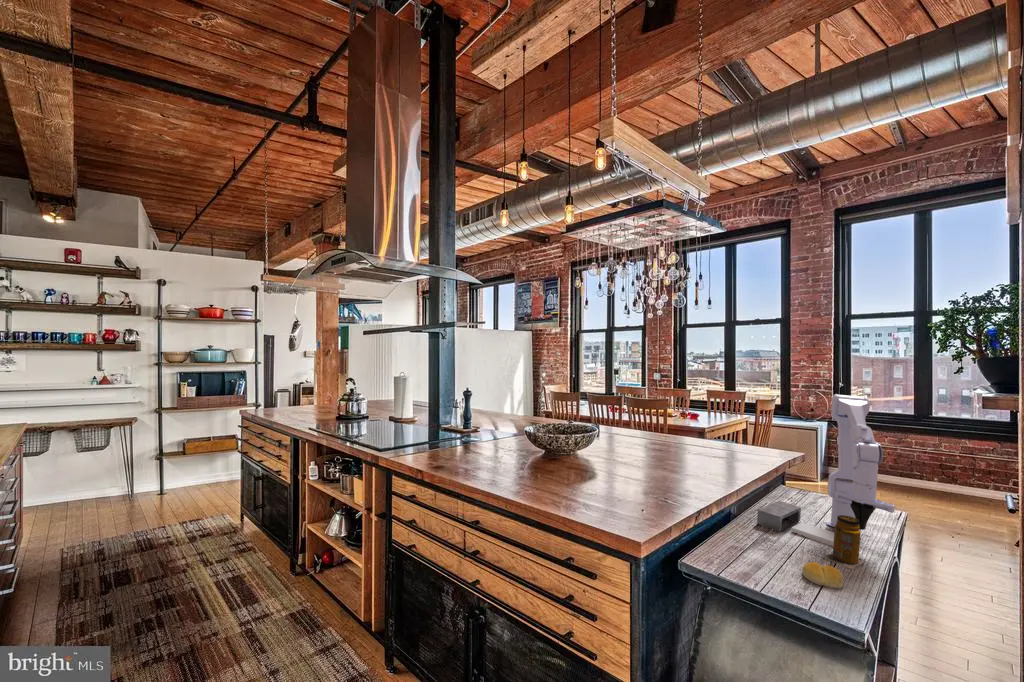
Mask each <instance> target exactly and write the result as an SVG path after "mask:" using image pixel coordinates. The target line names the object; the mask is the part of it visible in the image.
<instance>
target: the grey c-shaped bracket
mask: <svg viewBox="0 0 1024 682" xmlns="http://www.w3.org/2000/svg"><path fill="white" fill-rule="evenodd" d="M801 511H802V507H801V506H799V505H794V504H792V503H791V504H790V503H788V502H784V501H781V500H777V501H776V502H773V503H770V504H767V505H766V506H763V507H761V508H758V509H757V518H756V525H757V524H759V525H758V526H760V525H762V526H765V527H767V528H766V529H768V528H770V529H769V530H771V529H773V530H772V531H774V530H776V531H775V532H777V531H778V532H777V533H781V532H782V525H783V523H782V522H783V520H784V519H785V518H787V519H786V520H788V519H791V520H793V521H792V522H794V521H796V522H795V523H797V522H799V521H800V522H801ZM791 520H790V521H791ZM800 522H799V523H800ZM762 526H761V527H762ZM765 527H764V528H765ZM780 531H781V532H780Z"/></svg>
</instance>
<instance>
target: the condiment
mask: <svg viewBox="0 0 1024 682" xmlns="http://www.w3.org/2000/svg"><path fill="white" fill-rule="evenodd" d="M859 524H860V522H859V520H857V519H856V518H853V517H850V516H845V515H839V516H838V517H837V524H836V525H835V527H834V531H833V532H834V544H833V546H832V552H831V553H828V554H826V555H823V556H822V558H824V559H826V560H827V561H830V562H831V563H835V564H836V565H839V566H842V567H845V568H848V569H851V570H852V569H854V568H855V567H856V568H857V567H858V566H860V565H862V564H864V563H865V561H863V560H861V559H859V558H860V557H859V556H860V544H861V534H862V533H861V529H859V528H860V526H859Z"/></svg>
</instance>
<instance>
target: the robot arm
mask: <svg viewBox="0 0 1024 682" xmlns="http://www.w3.org/2000/svg"><path fill="white" fill-rule="evenodd" d="M830 402H831V403H830V405H831V406H830V407H831V408H830V412H831V418H832V419H833V420H835V421H836V422H837V426H838V427H837V428H838V429H837V430H838V431H837V432H838V433H837V436H838V437H837V438H838V439H837V440H838V441H837V442H838V444H837V447H838V449H837V450H838V453H837V454H838V455H837V458H838V459H837V460H838V463H837V465H838V466H837V467H838V468H837V470H834V471H833V472H831V473H829V475H828V481H827V494H828V496H829V497H830V498H832V503H831V513H830V515H831V517H830V520H829V521H828V522H826V523H825V524H826V525H827V526H830V527H833V528H835V525H836V524H837V517H838V516H839V515H845V516H850V517H853V518H856V519H857V520H859V522H860V524H859V526H860V528H859V530H860V531H864V530H865V529H867V528H866V527H867V523H868V522H869V519H870V517H871V516H872V514H873V513H874V511H875V510H876V509H879V510H881V511H885V512H887V513H890V514H893V513H895V509H896V508H895V507H896V505H895V504H891V503H889V502H886V501H882V500H879V499H877V485H878V476H879V475H878V473H879V465H881V464H882V461H883V448H882V445H881V444H880V443H879V442H878V441H876V439H875V436H874V434H873V430H872V428H871V427H870V426H868V425H867V423H866V417H867V415H868V414H869V412H870V400H869V398H868V397H867V396H860V395H859V396H857V395H848V394H847V395H845V394H837V393H835V394H833V395H832V398H831V401H830Z"/></svg>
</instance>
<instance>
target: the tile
mask: <svg viewBox="0 0 1024 682" xmlns="http://www.w3.org/2000/svg"><path fill="white" fill-rule="evenodd" d="M791 531H792V532H795V533H798V534H800V535H799V536H801V535H803V536H802V537H804V536H805V537H804V538H807V537H808V539H810V538H811V540H813V541H817V542H819V543H823V544H825V545H828V546H832V547H833V544H834V531H830V530H828V529H824V528H821V527H818V526H815V525H812V524H808V523H806V522H802V521H800V522H799V523H797V524H795V525H793V526H791ZM792 532H791V533H792ZM795 533H794V534H795ZM798 534H797V535H798Z"/></svg>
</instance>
